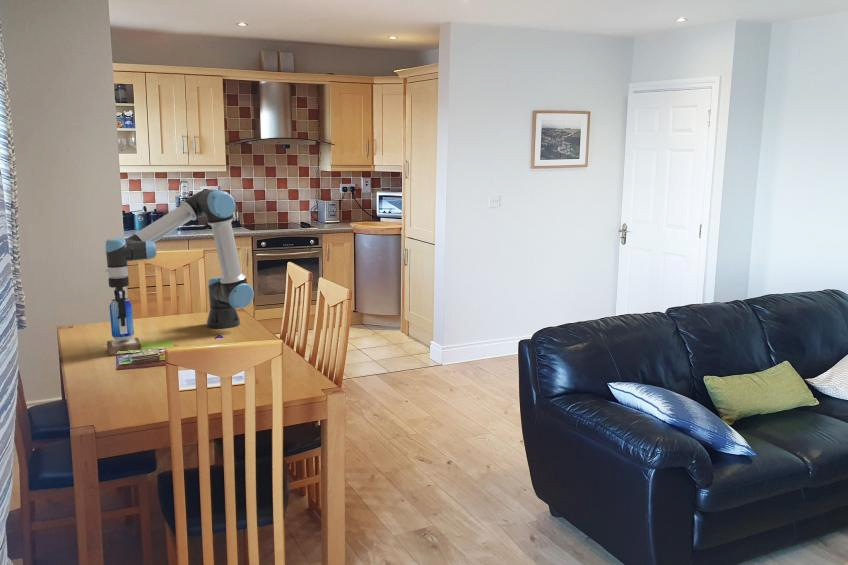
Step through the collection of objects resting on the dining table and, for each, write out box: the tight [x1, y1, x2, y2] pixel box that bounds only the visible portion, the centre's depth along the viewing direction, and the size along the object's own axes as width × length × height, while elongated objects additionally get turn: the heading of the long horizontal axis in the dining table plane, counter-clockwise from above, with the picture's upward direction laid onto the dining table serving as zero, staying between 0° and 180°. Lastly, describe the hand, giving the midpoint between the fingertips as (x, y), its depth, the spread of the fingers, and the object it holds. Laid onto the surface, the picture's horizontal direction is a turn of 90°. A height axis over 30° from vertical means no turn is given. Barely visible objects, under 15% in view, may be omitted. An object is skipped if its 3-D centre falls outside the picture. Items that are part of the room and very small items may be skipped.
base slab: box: [106, 337, 142, 357], centre depth 298 cm, size 12×12×4 cm
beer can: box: [108, 297, 135, 340], centre depth 296 cm, size 8×8×16 cm
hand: (122, 331), depth 297 cm, fingers closed on beer can, 8 cm apart
